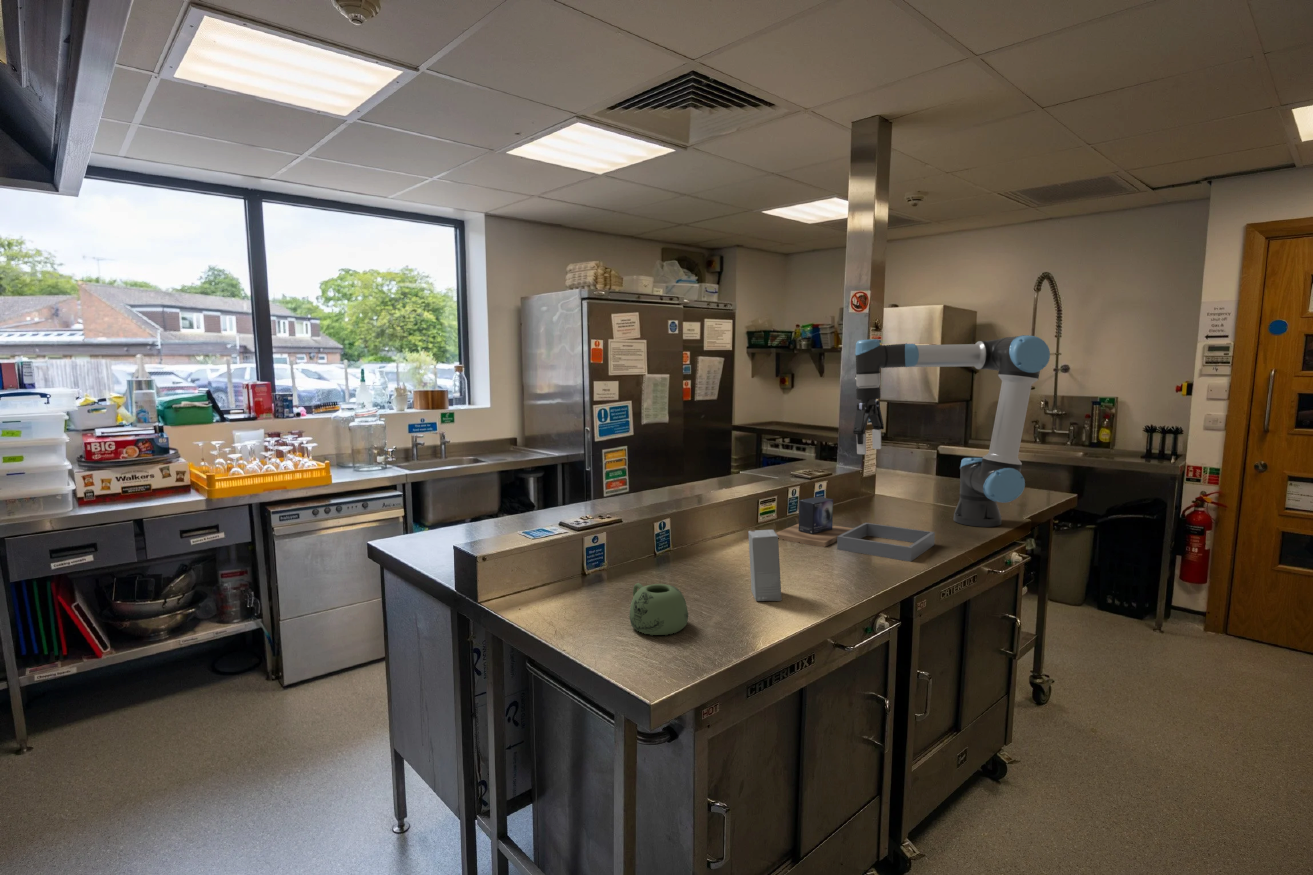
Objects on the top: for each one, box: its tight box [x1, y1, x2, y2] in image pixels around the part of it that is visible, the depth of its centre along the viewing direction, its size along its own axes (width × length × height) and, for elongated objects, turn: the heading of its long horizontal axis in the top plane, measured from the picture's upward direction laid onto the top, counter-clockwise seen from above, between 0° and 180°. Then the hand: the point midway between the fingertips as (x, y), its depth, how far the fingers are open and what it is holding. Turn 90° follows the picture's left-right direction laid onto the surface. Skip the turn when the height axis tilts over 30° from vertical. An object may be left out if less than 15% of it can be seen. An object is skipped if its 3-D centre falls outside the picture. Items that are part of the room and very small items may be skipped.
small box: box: [798, 496, 834, 534], centre depth 215 cm, size 11×6×10 cm, turn 128°
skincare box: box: [747, 529, 782, 602], centre depth 158 cm, size 8×7×16 cm
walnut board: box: [775, 522, 854, 548], centre depth 215 cm, size 22×18×2 cm
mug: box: [629, 582, 689, 636], centre depth 142 cm, size 16×13×9 cm
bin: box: [836, 522, 936, 562], centre depth 200 cm, size 22×22×4 cm
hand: (869, 451), depth 215 cm, fingers open, 13 cm apart
